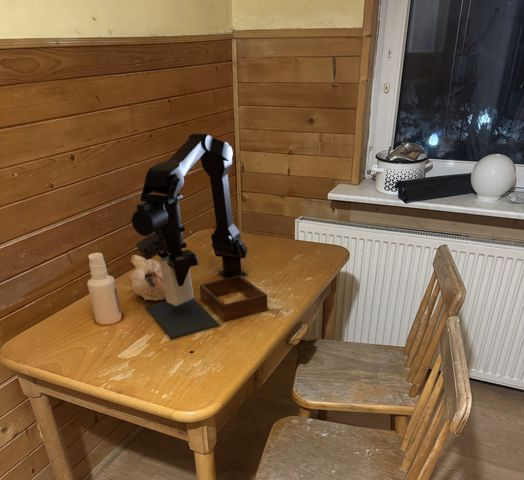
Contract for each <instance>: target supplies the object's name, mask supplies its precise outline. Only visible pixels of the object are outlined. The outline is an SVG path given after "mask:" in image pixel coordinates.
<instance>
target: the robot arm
mask: <svg viewBox="0 0 524 480" xmlns="http://www.w3.org/2000/svg"><path fill="white" fill-rule="evenodd" d="M233 154H234V152H233V148H232V145H231V144H229V143H228V142H227V141H222V140H221V139H217V138H215V137H213V136H212V135H210V134H208V133H197V132H194V133H191V134H189V136H188V139H187V140H186V141H185V142H184V143H183V144H182V145H181V146H180V147H179V149H178V150H176V151H175V152H174V154H172V156H170V157H169V159H167V160H165V161H162V162H158V163H156V164H155V165H153V166H152V167H150V168H149V169H148V170H147V172H146V176H145V179H144V183H143V187H142V192H141V196H140V202H143V203H139V204H137V205H136V211H135V212H134V213H133V214H132V216H131V217H132V218H131V224H132V227H133V229H134V230H135V232H136V233H137V234H139V235H140V236H143V237H144V238H143V239H141V240H139V241H138V242H137V243H135V247H136V248H137V250H138V252H139V253H140V256H141V257H143V258H145V259H146V260H149V259H152V258H154V257H155V256H158V257H159V258H160V259H162V258H165V257H168V256H169V257H168V259H169V263H167V264H168V265H169V266H170V267H171V268H173V270H174V273H175V276H176V280H177V283H178V286H183V284H184V281H185V279H186V276H187V273H188V271H189V269H190V270H191V267H196V266H198V265H199V264H200V262H199V256H198V255H197V254H196V253H194V252H193V251H191V250H190V249H186V248H188V245H187V242H185V241H184V234H183V232H185V231H186V228H185V226H184V225H183V224H182V218H181V216H182V215H181V208H180V201H181V200H183V199H184V196H183V195H182V194H181V193H180V191H181V189H182V188H183V186H184V184H185V176H186V174H187V173H188V172H189V171H190V170H191V169H192V168H193V167H194V165H195V164H196V163H197V162H198V161H199V160H200V162H201V167H202V169H203V170H204V171H205V173H206V175H208V177H209V181H210V182H209V183H210V190H211V197H212V202H213V203H212V205H213V210H214V217H215V219H214V220H215V225H216V227H215V229H214V231H213V233H212V234H211V235H210V239H211V248H213V249H212V250H213V252H214V255H215V257H220V258H221V261H222V270H219V271H218V273H219V274H220V275H221V276H222V277H223V278H224V279H226V278H230V277H234V276H238V275H241V276H242V277H245V276H246V275H247V273H246V272H245V271H243V270H242V259H245V258H247V255H248V247H247V246H246V244H245V243H244V242H243V240H242V237H241V232H240V230H239V229H238V228H237V226H236V225H235V223H234V218H233V209H232V202H231V192H230V184H229V172H230V169H231V168H232V165H233ZM183 249H184V250H183Z"/></svg>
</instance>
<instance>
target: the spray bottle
mask: <svg viewBox="0 0 524 480" xmlns="http://www.w3.org/2000/svg"><path fill="white" fill-rule="evenodd" d="M87 258H88V261H89V263H88V266H89V270H90V276H91V278H90V279H88V280H87V283H86V284H87V285H86V286H87V288H88V294H89V297H90V303H91V306H92V310H93V311H92V312H93V315H94V319H95V322H96V323H97V324H98V325H101V326H102V325H103V326H107V325H112V324H117V323H118V322H120V321H121V320H122V319H123V318H122V317H123V314H122V310H121V304H120V298H119V294H118V290H117V289H118V288H117V284H116V280H115V278H114V276H112V275H109V273H108V269H107V265H106V261H105V259H104V255H103V253H102V252H93V253H90V254H88V257H87Z"/></svg>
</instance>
